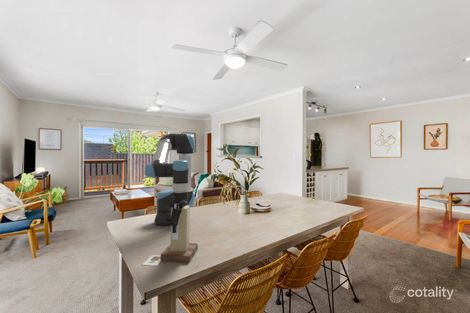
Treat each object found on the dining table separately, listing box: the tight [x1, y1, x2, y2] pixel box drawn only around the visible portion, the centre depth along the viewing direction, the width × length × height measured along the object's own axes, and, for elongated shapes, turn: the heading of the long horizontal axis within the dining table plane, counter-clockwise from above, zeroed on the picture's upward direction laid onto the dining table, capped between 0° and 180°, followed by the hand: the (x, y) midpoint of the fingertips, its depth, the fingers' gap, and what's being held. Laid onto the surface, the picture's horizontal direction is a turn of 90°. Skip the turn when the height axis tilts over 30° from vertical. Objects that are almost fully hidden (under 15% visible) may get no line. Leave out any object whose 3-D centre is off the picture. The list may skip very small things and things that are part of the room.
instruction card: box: [141, 254, 162, 267], centre depth 100 cm, size 9×7×1 cm
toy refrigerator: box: [170, 206, 191, 252], centre depth 106 cm, size 8×7×21 cm
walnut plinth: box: [159, 242, 199, 264], centre depth 106 cm, size 14×14×3 cm
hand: (180, 233), depth 106 cm, fingers open, 13 cm apart
